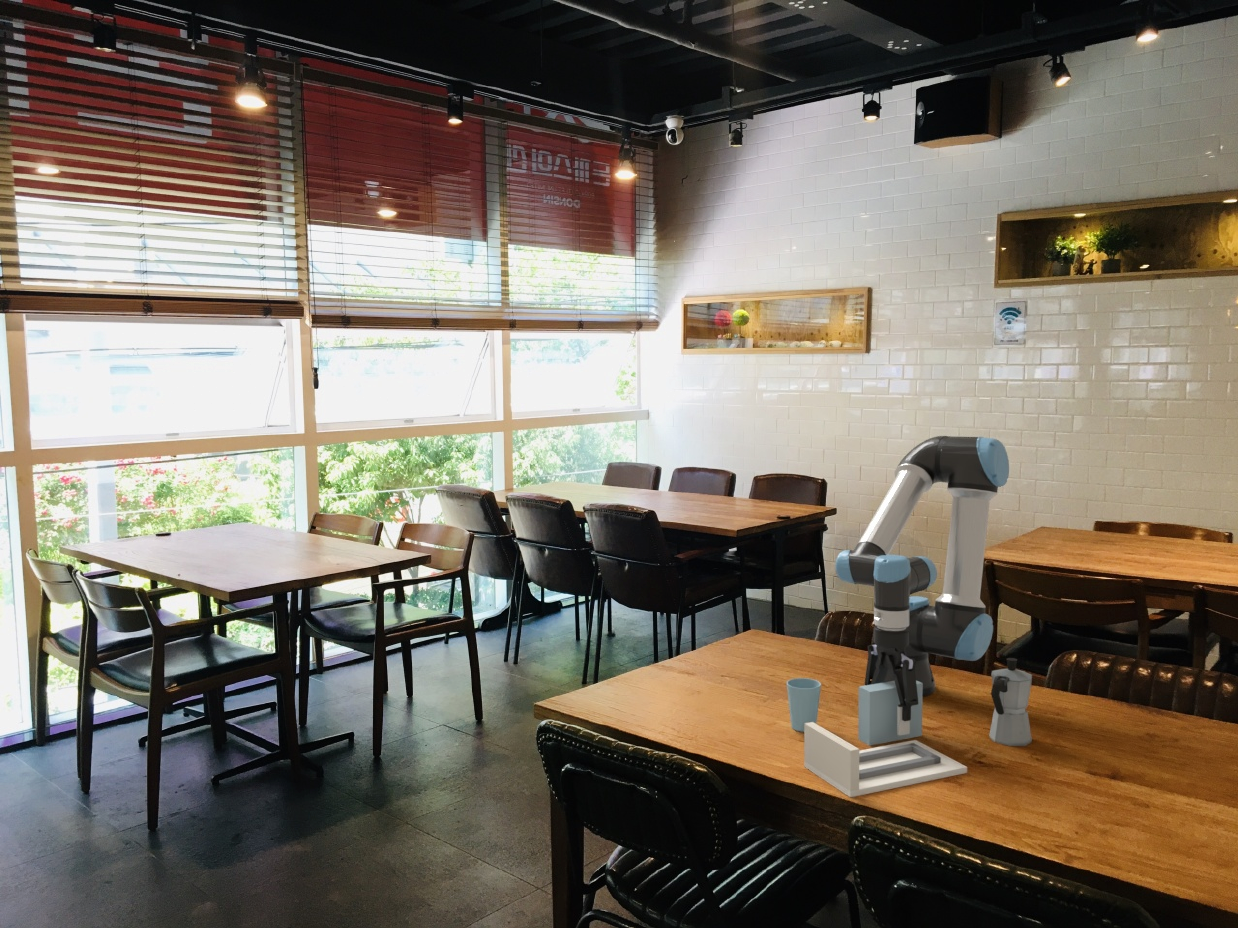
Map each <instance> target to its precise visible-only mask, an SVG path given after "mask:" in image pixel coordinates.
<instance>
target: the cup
mask: <svg viewBox="0 0 1238 928" xmlns="http://www.w3.org/2000/svg"><path fill="white" fill-rule="evenodd" d="M821 687H822V683H821V682H820V681H818V680H817V679H813V678H807V677H806V678H805V677H797V678H792V679H791V678H790V679H789V680H786V690H787V699H788V700H787V701H788V708H789V717H790V725H791V729H793V730H794V731H796V732H801V733H802V732H803V733H804V723H810V722H814V723H815V724H817V723H818V715H819V706H820V705H819V704H820V697H821V689H822V688H821ZM817 725H818V724H817Z"/></svg>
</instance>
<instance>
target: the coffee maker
mask: <svg viewBox="0 0 1238 928" xmlns="http://www.w3.org/2000/svg"><path fill="white" fill-rule="evenodd" d="M1005 659H1006V665H1007V668H1001V669H995V670H991V674H990V675H991V682H992V687H991V692H990V695H991V698H992V703H993V706H994V708H993V709H994V710H993V713H992V718H991V719H992V720H991V724H990V729H989V730H990V731H989V735H988V737H989V738H990V739H991V740H992V742H994V743H996V744H1000V745H1004V746H1008V747H1026V746H1027V745H1029V744H1031V743H1032V742H1033V741H1032V740H1033V739H1032V733H1031V732H1032V731H1031V726H1030V719H1029V713H1028V710H1026V708H1028V706H1029V699H1030V694H1031V693H1030V692H1031V688H1032V687H1031V686H1032V681H1033V679H1032V678H1033V675H1032V674H1031V673H1028V672H1026V671H1025V670H1020V669H1017V663H1018V659H1017V658H1015V657H1008V658H1005Z"/></svg>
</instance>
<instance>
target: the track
mask: <svg viewBox="0 0 1238 928" xmlns="http://www.w3.org/2000/svg"><path fill="white" fill-rule="evenodd" d="M803 733H804V734H803V735H804V736H803V737H804V741H803V742H804V746H803V747H804V748H803V749H804V751H803V752H804V753H803V754H804V756H803V757H804V760H803V761H804V763H803V765H804V766H803V767H804V768H805V767H806V768H805V769H807V770H808V769H809V770H808V771H810V772H811V773H813V774H815V775H816V776H817V777H818V778H820V779H822V780H824V781H825V782H827V783H828V784H830V785H831V786H833V787H834V788H835V789H837V790H838V791H840V792H842V793H843V794H845V795H846V796H848V798H855V797H858V796H864V795H867V794H874V793H878V792H882V791H886V790H891V789H896V788H901V787H905V786H911V785H917V784H920V783H925V782H929V781H934V780H939V779H945V778H948V777H952V776H958V775H962V774H967V773H968V766H966V765H964V764H962V763H960V762H958V761H956V760H954V759H953V758H951V757H949V756H947V755H945V754H943V753H942V752H939V751H937V750H936V749H933V748H932V747H930V746H928V745H926V744H924V743H922V742H920V741H919V740H917V739H913V740H908V741H902V742H897V743H893V744H888V745H881V746H877V747H871V748H866V749H861V750H860V748H858V747H856V746H855V745H853V744H851V743H850V742H848V741H847V740H844V739H842V738H841V737H839V736H837V735H836V734H834V733H832V732H831V731H829V730H827V729H826V728H824V727H822V726H821V725H818V724H815V723H814V722H810V723H804V732H803Z"/></svg>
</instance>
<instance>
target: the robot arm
mask: <svg viewBox="0 0 1238 928" xmlns="http://www.w3.org/2000/svg"><path fill="white" fill-rule="evenodd" d="M1009 474H1010V463H1009V456H1008V452H1007V450H1006V447H1005V446H1004V444H1003V442H1001V441H1000V440H999V439H997V438H991V437H984V436H951V435H950V436H947V435H939V436H938V435H937V436H934V437H931V438H928V439H926V440H924V441H922V442H920V443H919V444H917V445H916V446H914V447H913V448H912V449H911V450H910V451H908V453H907V454H905V456H903V458H902V459H901V460H900V462H899V464H898V465H897V467H896V468H895V470H894V477H895V478H894V480H893V481H892V483H891V486H890V487H889V489H888V491H887V492H886V494H885V496H884V498H883V499H882V501H881V502H880V504H879V506H878V508H877V510H876V511H875V513H874V515H873V516H872V519H871V520H870V522H869V524H868V525H867V527H866V529H865V530H864V532H863V534H862V535H861V538H860V539H859V540H858V543H857V544H856V545H855V547H854V548H853V550H852V549H849V550H848V549H845V550H842V551H841V552H839V553H838V555H837V557H836V559H835V564H834V566H835V568H834V569H835V574H836V575H837V578H838V579H839V580H840V581H842V582H845V583H850V584H854V585H863V586H869V587H870V586H871V587H873V602H874V603H873V624H874V625H875V626H874V627H873V643H874V644H870V645H867V655H868V656H867V663H866V670H865V677H864V686H865V685H871V684H878V683H884V682H890V681H895V685H896V689H897V693H898V697H899V701H900V704H899V705H897V735H899V736H900V735H905V734H910V720H911V706H913V705H918V694H917V684H916V681H919V682H921V683H923V693H922V697H926V696H929V695H933V694H934V693H935V691H936V681H935V678H934V674H933V671H932V668H931V665H930V662H929V654H932V655H936V656H937V655H938V656H941V657H945V658H952V659H956V660H958V661H960V660H964V661H970V662H973V661H974V662H975V661H978V660H980V659H981V658H982V657H983V656H984V655H985V653H986V652H987V650H988V648H989V646H990V644H991V640H992V637H993V633H994V625H993V623H994V620H993V619H992V616H990V615H989V614H987V613H986V605H985V604H984V601H982V600H981V591H982V590H981V589H982V580H983V571H984V561H985V552H986V551H985V550H986V542H987V541H986V539H987V530H988V521H989V511H990V503H991V500H992V499H993V498H994V497H996V496H997V495H998V490H999V489H998V488H1002V487H1003V486H1005V485H1006V484H1007V482H1008V479H1009V476H1010V475H1009ZM936 483H946V484H947V491H948V492H949V494H950V495H951V496H952V503H951V514H950V522H949V530H948V533H949V534H948V541H947V549H946V550H947V551H946V552H947V553H946V559H945V570H944V579H943V589H942V593H941V595H939V597H937V598H936V599H935V601H934V606H933V605H930V604H931V602H930V599H929V598H928V597H925V596H917V595H916V596H915V595H914V596H910V595H912V594H916V593H919V592H922V591H924V590H925V591H926V590H927V589H928V588H930V587H931V586H932V585H934V583H935V582H936V580H937V577H938V570H937V568H936V565H935V563H934V562H933V561H932V560H931V559H930V558H928V557H927V556H923V555H919V556H916V555H915V556H911V557H907V556H905V555H898V554H890V553H891V551H892V550H893V548H894V546H895V544H896V543H897V541H898V538H899V537H900V535H901V533H902V532H903V530H904V528H905V527H906V525H907V523H908V521H909V519H910V518H911V515H912V513H914V510H915V508H916V506H917V505H918V503H919V501H920V499H921V498H922V496H923V494H924V493H927V492H929V491H930V489H931V488H932V486H933V485H934V484H936Z"/></svg>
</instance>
